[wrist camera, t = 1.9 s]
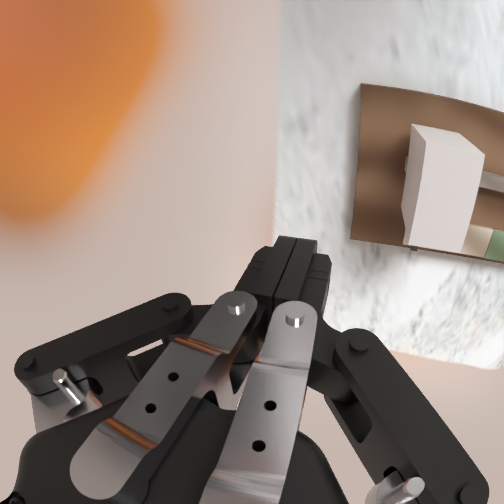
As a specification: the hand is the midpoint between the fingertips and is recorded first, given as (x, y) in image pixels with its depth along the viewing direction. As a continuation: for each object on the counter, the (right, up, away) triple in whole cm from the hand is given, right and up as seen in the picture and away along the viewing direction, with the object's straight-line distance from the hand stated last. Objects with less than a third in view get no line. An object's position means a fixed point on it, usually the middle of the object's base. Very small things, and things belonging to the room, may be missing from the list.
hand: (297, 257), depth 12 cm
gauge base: (+22, +6, +8) cm, 24 cm away
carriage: (+12, +5, +10) cm, 17 cm away
